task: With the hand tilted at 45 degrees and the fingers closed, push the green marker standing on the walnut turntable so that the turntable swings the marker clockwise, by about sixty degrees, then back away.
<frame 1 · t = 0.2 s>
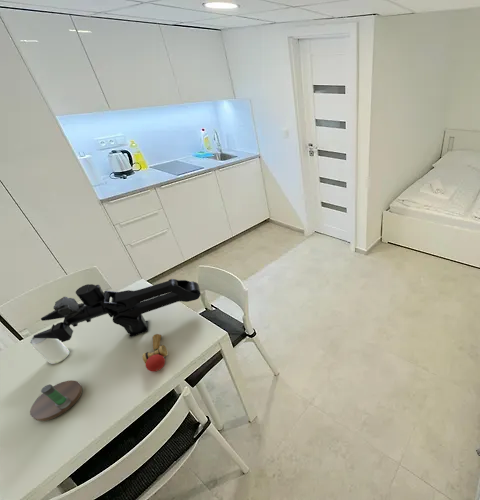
hand: (37, 327, 103), 17 cm above the table, tool horizontal, fingers open, 9 cm apart
can: (60, 357, 112), on the table
kendama: (158, 355, 112), on the table
turntable: (48, 392, 94), point 7 cm above the table, hinge at 0.0°
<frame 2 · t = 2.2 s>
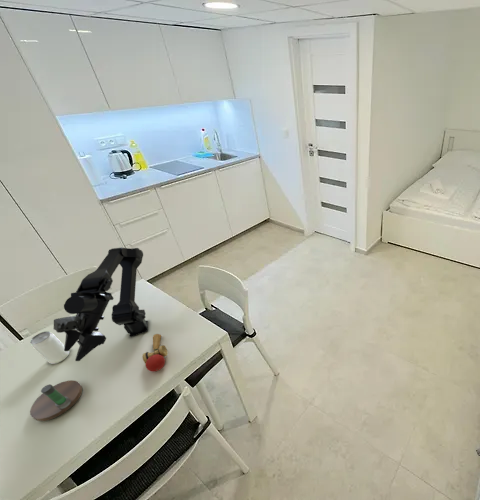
hand: (71, 355, 97), 13 cm above the table, tool tilted 50°, fingers open, 9 cm apart
nothing on the table moved.
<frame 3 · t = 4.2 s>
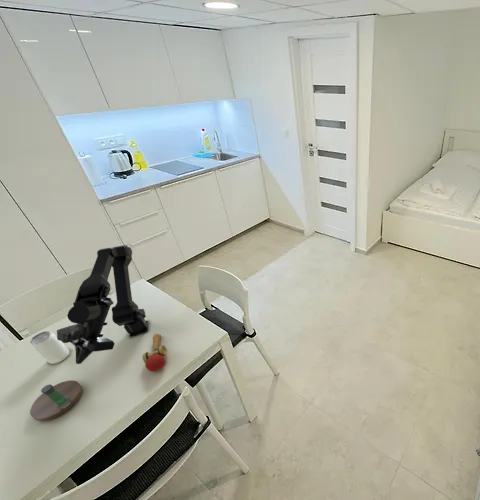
hand: (78, 363, 96), 12 cm above the table, tool tilted 45°, fingers closed
nothing on the table moved.
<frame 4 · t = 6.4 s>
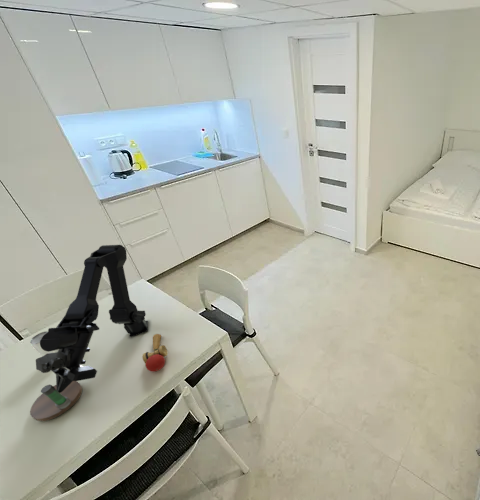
hand: (59, 392, 93), 7 cm above the table, tool tilted 45°, fingers closed
turntable: (48, 392, 94), point 7 cm above the table, hinge at -0.5°, touching gripper
everything else where it was.
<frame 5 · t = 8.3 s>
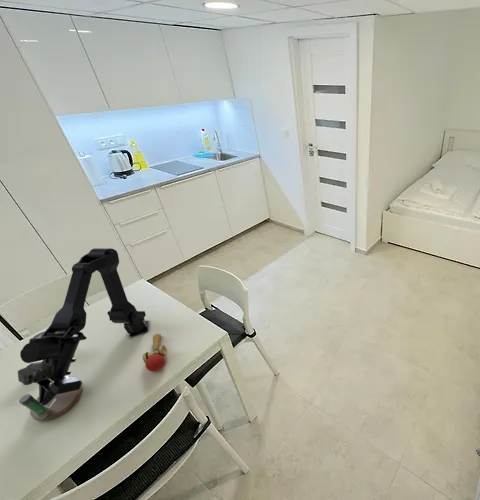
hand: (43, 403, 90), 7 cm above the table, tool tilted 45°, fingers closed
turntable: (48, 392, 94), point 7 cm above the table, hinge at -60.1°, touching gripper
everything else where it was.
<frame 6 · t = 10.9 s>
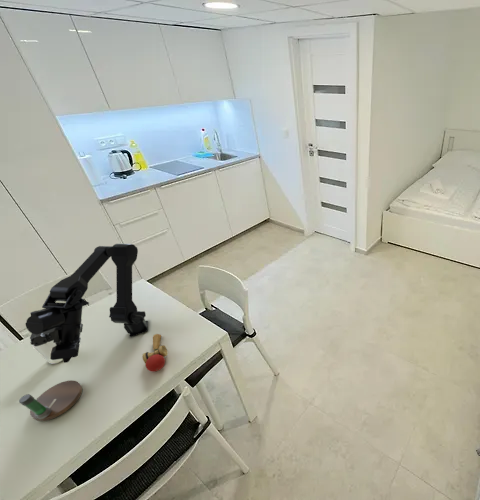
hand: (66, 361, 97), 11 cm above the table, tool tilted 30°, fingers closed
turntable: (48, 392, 94), point 7 cm above the table, hinge at -60.1°
everything else where it was.
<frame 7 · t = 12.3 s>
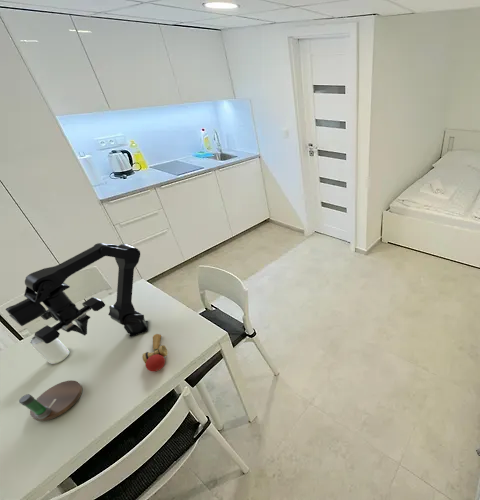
hand: (85, 334, 105), 13 cm above the table, tool pointing down, fingers closed
nothing on the table moved.
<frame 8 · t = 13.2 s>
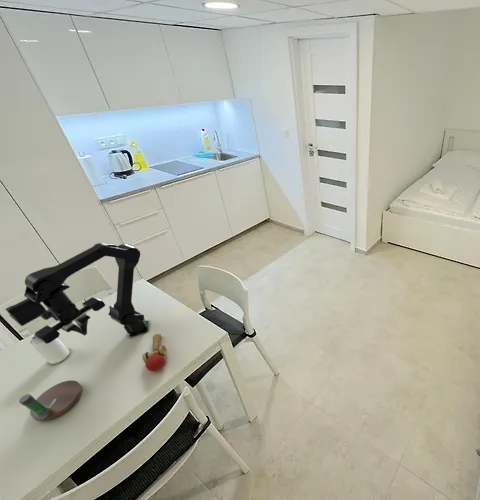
hand: (85, 334, 105), 13 cm above the table, tool pointing down, fingers closed
nothing on the table moved.
at the end: turntable at -60° (first picture: +0°); can moved 0.2 cm from its start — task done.
